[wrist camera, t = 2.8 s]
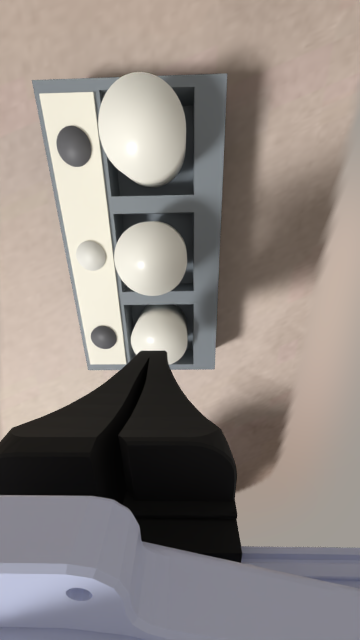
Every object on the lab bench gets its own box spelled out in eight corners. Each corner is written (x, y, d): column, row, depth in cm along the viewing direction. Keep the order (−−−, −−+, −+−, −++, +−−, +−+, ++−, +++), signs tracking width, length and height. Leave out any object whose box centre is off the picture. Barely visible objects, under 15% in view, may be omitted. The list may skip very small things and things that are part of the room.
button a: (187, 345, 18) (187, 365, 15) (140, 346, 18) (133, 366, 15) (186, 301, 16) (187, 315, 14) (136, 301, 16) (128, 315, 14)
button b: (186, 282, 14) (187, 295, 12) (129, 283, 14) (118, 296, 12) (186, 220, 13) (186, 220, 11) (123, 222, 13) (109, 222, 11)
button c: (186, 186, 12) (186, 179, 10) (120, 188, 12) (104, 180, 10) (185, 102, 11) (185, 70, 9) (111, 105, 11) (91, 73, 9)
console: (210, 350, 18) (215, 370, 16) (100, 351, 19) (87, 371, 16) (219, 100, 13) (228, 71, 10) (59, 105, 13) (29, 78, 10)
